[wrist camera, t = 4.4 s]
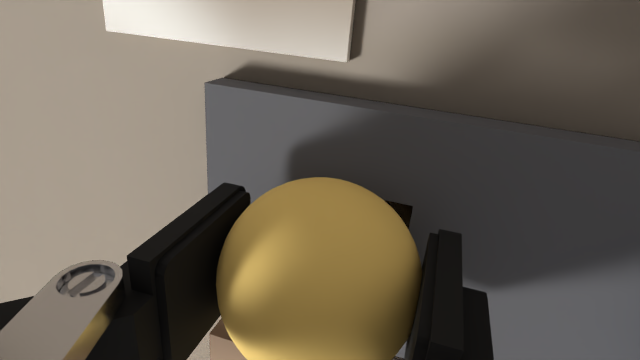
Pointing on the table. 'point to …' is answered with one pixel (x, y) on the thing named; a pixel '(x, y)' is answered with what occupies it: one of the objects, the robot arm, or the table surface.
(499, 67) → the table surface
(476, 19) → the table surface
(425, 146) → the gray flat board
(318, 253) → the ball ochre
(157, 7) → the tube board
